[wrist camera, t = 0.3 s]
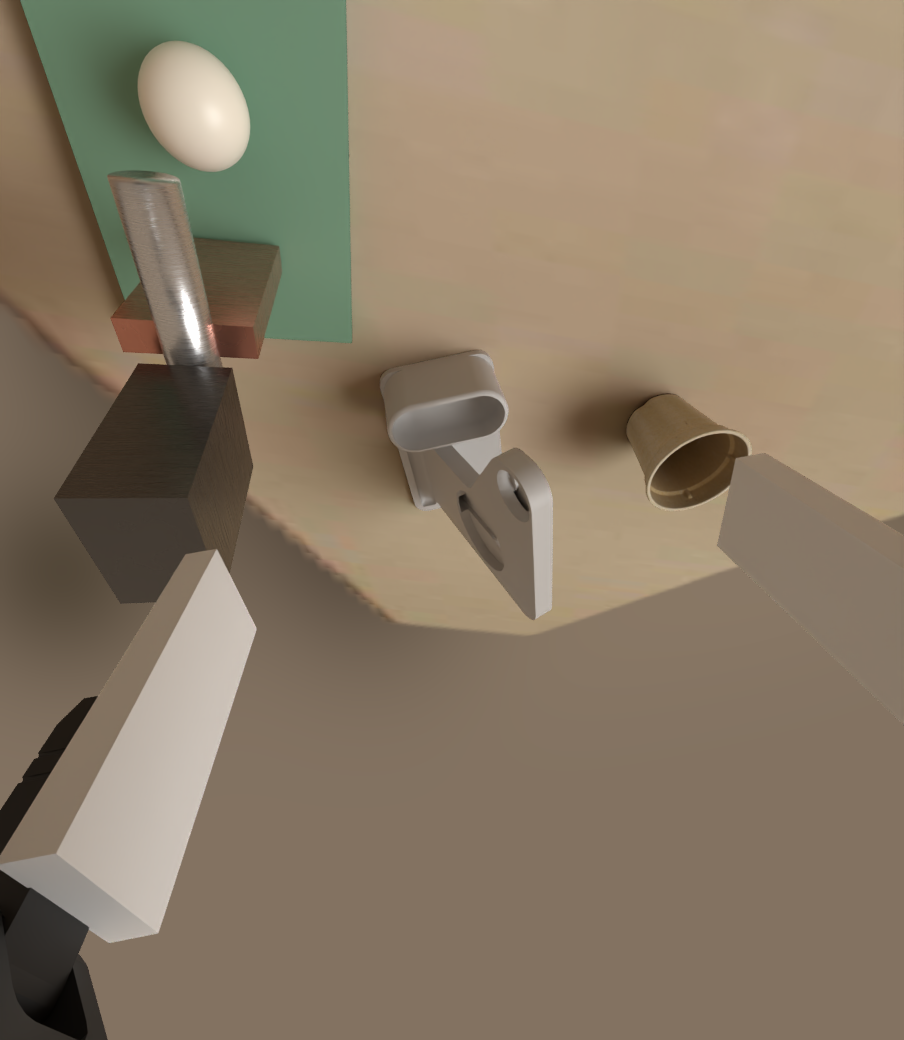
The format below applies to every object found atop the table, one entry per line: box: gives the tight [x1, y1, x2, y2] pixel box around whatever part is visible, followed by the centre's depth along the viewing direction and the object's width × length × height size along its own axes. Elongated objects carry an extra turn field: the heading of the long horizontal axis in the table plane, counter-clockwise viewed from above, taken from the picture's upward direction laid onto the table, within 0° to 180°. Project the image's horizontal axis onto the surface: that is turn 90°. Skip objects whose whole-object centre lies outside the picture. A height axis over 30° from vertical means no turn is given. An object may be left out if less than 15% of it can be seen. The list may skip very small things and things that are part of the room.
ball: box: [138, 41, 250, 172], centre depth 24 cm, size 5×5×5 cm
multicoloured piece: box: [54, 170, 282, 603], centre depth 23 cm, size 13×6×22 cm, turn 172°
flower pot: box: [627, 394, 752, 511], centre depth 45 cm, size 9×9×9 cm
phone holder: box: [380, 350, 553, 620], centre depth 40 cm, size 17×10×18 cm, turn 9°
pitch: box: [20, 0, 352, 343], centre depth 23 cm, size 31×15×6 cm, turn 172°
